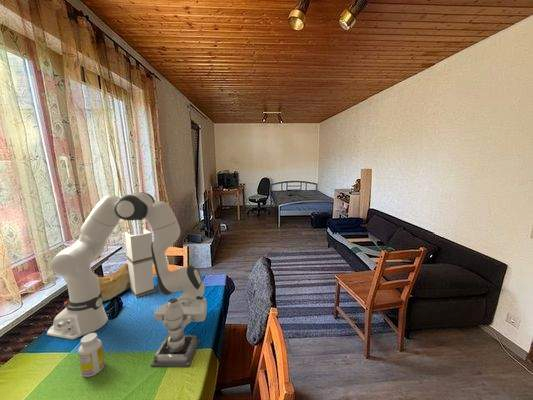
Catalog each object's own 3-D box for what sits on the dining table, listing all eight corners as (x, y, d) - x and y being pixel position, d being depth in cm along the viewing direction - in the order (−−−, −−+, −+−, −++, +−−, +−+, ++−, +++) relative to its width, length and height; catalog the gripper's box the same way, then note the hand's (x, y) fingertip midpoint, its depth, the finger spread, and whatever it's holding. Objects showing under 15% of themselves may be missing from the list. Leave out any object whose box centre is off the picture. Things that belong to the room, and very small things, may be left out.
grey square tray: (150, 366, 86) (150, 358, 86) (166, 340, 99) (165, 333, 99) (189, 367, 86) (188, 358, 85) (199, 340, 99) (199, 333, 98)
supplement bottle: (101, 359, 90) (97, 328, 88) (107, 368, 86) (103, 336, 84) (79, 371, 85) (74, 338, 83) (84, 381, 81) (80, 347, 79)
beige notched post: (156, 291, 138) (151, 232, 133) (136, 298, 131) (130, 236, 126) (149, 284, 147) (145, 228, 141) (130, 290, 139) (124, 232, 134)
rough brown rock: (126, 281, 152) (122, 259, 150) (140, 286, 142) (136, 262, 141) (83, 300, 132) (78, 275, 130) (97, 307, 123) (91, 280, 121)
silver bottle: (179, 356, 88) (176, 306, 85) (163, 353, 90) (159, 304, 87) (189, 343, 95) (186, 297, 92) (173, 341, 96) (170, 295, 93)
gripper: (162, 297, 103) (145, 317, 90) (209, 297, 103) (200, 318, 89) (163, 310, 104) (147, 333, 91) (210, 311, 104) (200, 333, 90)
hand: (173, 325), depth 90 cm, fingers closed on silver bottle, 5 cm apart
